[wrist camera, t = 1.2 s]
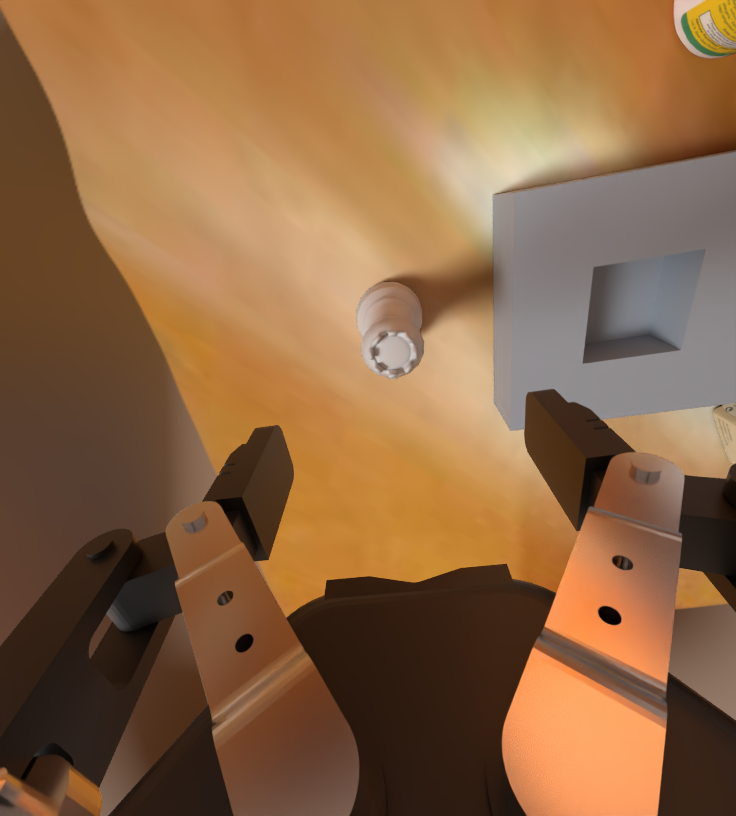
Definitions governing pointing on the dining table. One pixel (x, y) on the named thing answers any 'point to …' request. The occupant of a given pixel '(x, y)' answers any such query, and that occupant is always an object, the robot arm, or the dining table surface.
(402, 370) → the rook chess piece
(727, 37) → the supplement bottle
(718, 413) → the skincare box
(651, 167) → the socket block
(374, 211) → the dining table surface
